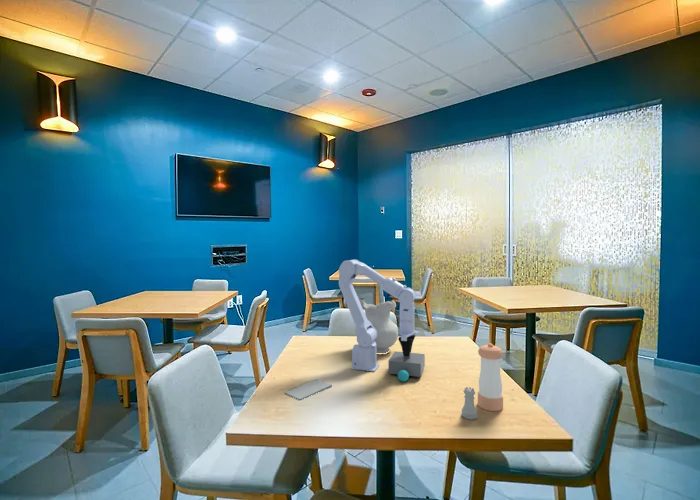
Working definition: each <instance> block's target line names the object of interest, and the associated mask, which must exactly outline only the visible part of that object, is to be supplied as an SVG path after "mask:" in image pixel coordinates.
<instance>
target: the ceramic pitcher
mask: <svg viewBox="0 0 700 500" xmlns="http://www.w3.org/2000/svg"><path fill="white" fill-rule="evenodd" d="M364 298H365V297H364V296H358V299H359V301H360V303H361V306H362V308H363V310H364V313H365V315H366V317H367V320H368V321H370V322H371V324H372V326H373V327H374V328H375V329H376V330H377V333H378V337H377V339H376V340H375V342H376V353H386V352H388V351H389V350H390V348H391V347H392V346H394V345H395V343H396V342H397V341H398V338H399V327H398V326H397V324H396V323H395V322H393V320H392V319H391V318H390V317H391V316H390V315H391V311H393V309H396V307H397V303H396V301H395V300H394V299H391V300H387V301H385V302H384V301H382V302H380V303H378V304H376V305H375V304H373V303H366V302H365V300H364ZM389 352H390V351H389Z"/></svg>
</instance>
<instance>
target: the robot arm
mask: <svg viewBox="0 0 700 500" xmlns="http://www.w3.org/2000/svg"><path fill="white" fill-rule="evenodd" d="M338 274H339V275H338V287H339V289H340V292H341V294H342V296H343V299H344V301H345V303H346V306H347V308H348V310H349V313H350V316H351V317H352V320H353V322H354V324H355V325H354V326H355V329H354V330H355V334H356V342H357V343H355V344H354V345H353V347H352V350H351V351H352V353H351V357H352V358H351V359H352V360H351V369H352V370H358V371H365V370H366V372H376V370H377V369H378V368H379V366H380V363H377V354H376V342H375V340H376V339H377V337H378V333H377V330H376V329H375V328H374V327H373V326H372V324H371V322H370V321H368V320H367V317H366V314H365V310H364V307H363V305H362V304H361V303H360V301H359V299H358V297H359V296H358V294H357V292H356V290H355V288H354V285H353V284H354V281H355V279H356V278H357V276H364V277H366V278H368V279H370V280H372V281H373V282H374V283H375V282H376V283H377V284H378V285H380V286H381V289H382V290H383V291H384V292H386V293H387V294H389V295H391V296H392V297H394V298H395V299H398V300H397V301H398V302H399V329H398V335H400V336H398V338H397V340H398V342H399V344H400V346H401V349H402V350H401V352H403V355H404V356H408V357H409V355H410V349H411V350H412V348H413V343H414V340H415V337H416V335H418V333H419V331H416V330H415V312H416V311H415V299H416V292H415V291H414V290H413V289H412V288H411V287H407V285H406V284H404V285H403V284H402V283H400V282H399V281H397V278H395V277H393V278H392V277H384V275H382V274H381V273H379V272H378V271H376V270H375V269H373V268H372V267H370V266H368V265H367V264H366V263H364V262H361V261H360V260H359V259H350V260H347V259H346V260H344V261H342V263H341V264H340V265H339V268H338Z"/></svg>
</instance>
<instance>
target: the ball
mask: <svg viewBox="0 0 700 500" xmlns="http://www.w3.org/2000/svg"><path fill="white" fill-rule="evenodd" d="M409 377H410V376H409V374H408V372H407V371H405V370H401V371H399V372H398V374H397V378H398V380H399V381H400V382H403V383H404V382H405V383H406V382H407V381H408V380H409Z"/></svg>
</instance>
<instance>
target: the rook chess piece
mask: <svg viewBox="0 0 700 500" xmlns="http://www.w3.org/2000/svg"><path fill="white" fill-rule="evenodd" d="M463 393H464V405H463V406H462V408H461V413H460V414H461V416H462V417H463V418H464V419H465V420H475V419H477V418H478V411H477V408H476V407H475V406H476V405H475V395H476V391H475V389H474V388H473V387H470V386H469V387H468V386H466V387H464V390H463Z"/></svg>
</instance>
